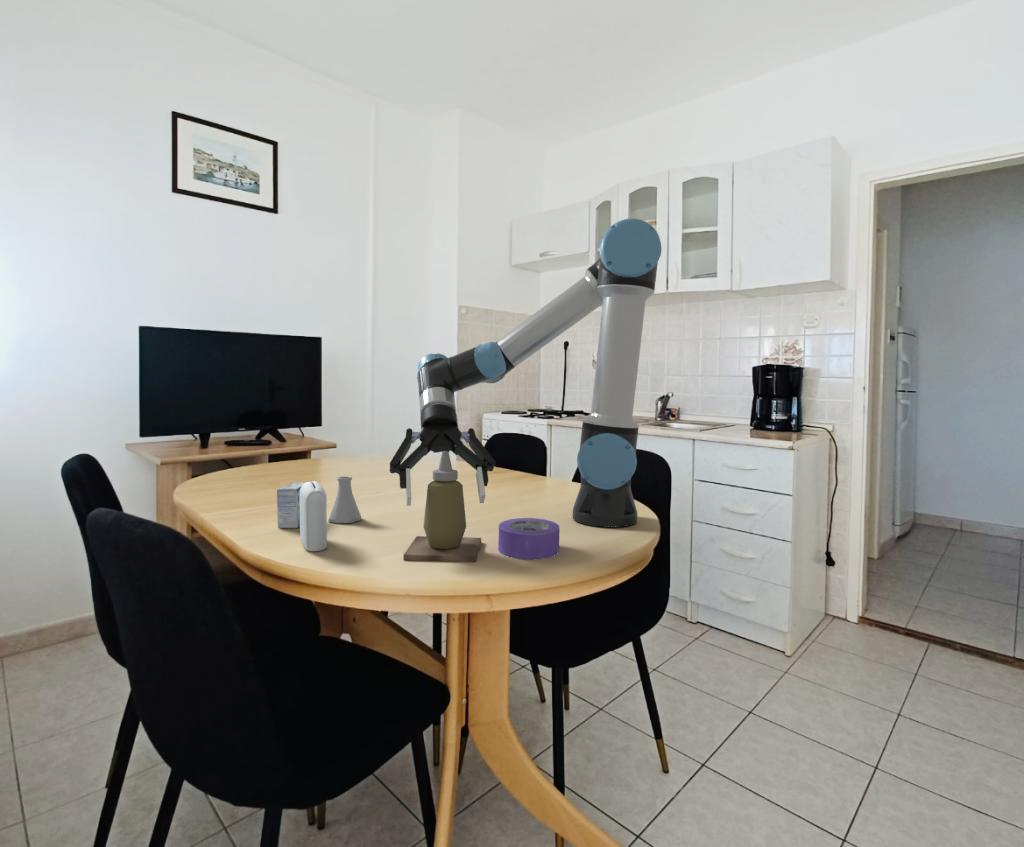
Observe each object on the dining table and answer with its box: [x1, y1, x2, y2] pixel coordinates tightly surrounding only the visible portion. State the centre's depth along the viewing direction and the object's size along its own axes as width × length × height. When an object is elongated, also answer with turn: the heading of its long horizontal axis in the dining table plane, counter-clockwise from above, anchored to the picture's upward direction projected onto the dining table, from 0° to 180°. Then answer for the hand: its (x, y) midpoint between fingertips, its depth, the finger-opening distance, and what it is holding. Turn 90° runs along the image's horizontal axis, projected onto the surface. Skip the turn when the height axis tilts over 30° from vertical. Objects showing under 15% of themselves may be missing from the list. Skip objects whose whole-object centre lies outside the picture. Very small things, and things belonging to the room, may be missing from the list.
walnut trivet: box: [403, 535, 482, 563], centre depth 106 cm, size 13×12×1 cm
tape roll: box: [497, 517, 560, 561], centre depth 108 cm, size 12×12×5 cm
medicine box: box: [276, 482, 306, 529], centre depth 124 cm, size 8×4×9 cm, turn 179°
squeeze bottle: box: [422, 451, 467, 549], centre depth 106 cm, size 8×8×18 cm
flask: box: [327, 475, 362, 524], centre depth 128 cm, size 7×7×10 cm
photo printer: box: [299, 480, 328, 552], centre depth 109 cm, size 10×4×12 cm, turn 27°
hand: (446, 500), depth 103 cm, fingers open, 13 cm apart
